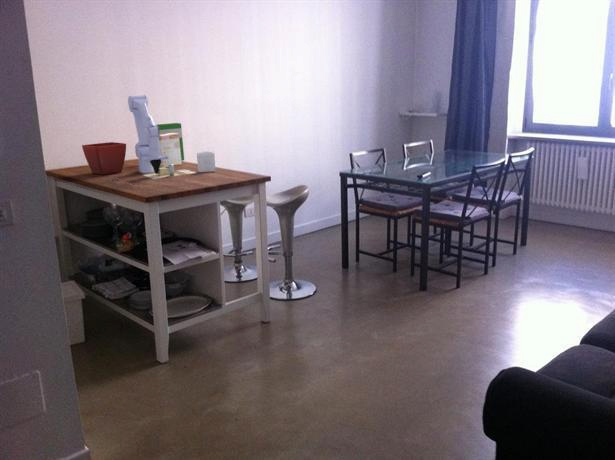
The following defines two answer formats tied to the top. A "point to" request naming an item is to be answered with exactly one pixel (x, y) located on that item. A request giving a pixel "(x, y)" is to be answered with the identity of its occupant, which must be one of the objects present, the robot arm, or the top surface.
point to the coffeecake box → (170, 149)
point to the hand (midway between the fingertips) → (156, 173)
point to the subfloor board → (177, 173)
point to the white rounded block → (206, 161)
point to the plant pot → (105, 157)
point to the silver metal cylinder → (171, 169)
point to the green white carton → (173, 129)
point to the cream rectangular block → (164, 171)
